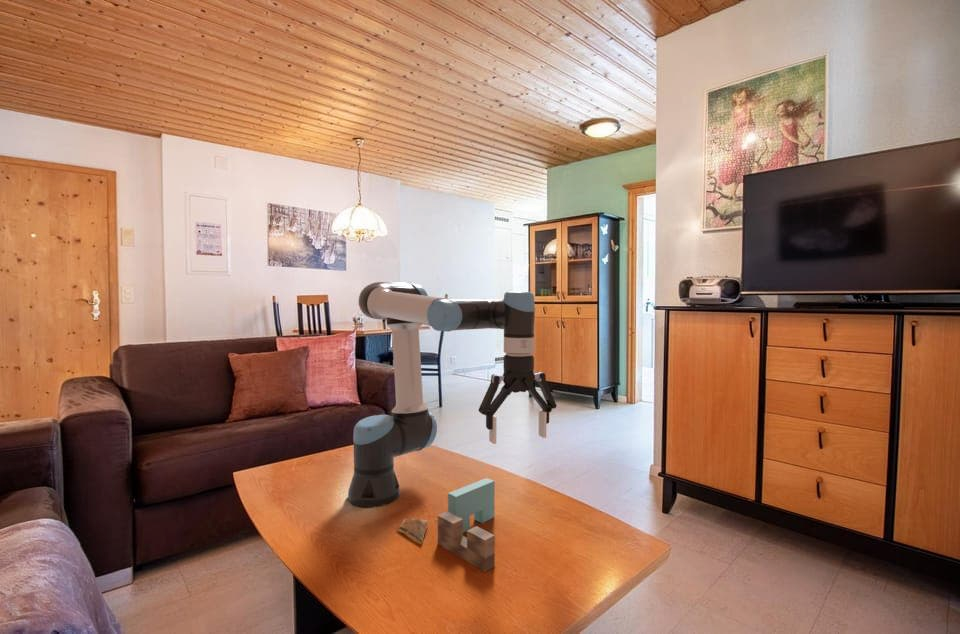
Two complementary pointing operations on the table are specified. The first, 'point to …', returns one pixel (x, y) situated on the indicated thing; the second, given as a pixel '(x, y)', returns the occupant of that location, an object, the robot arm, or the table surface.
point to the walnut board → (466, 541)
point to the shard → (414, 529)
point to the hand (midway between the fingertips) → (518, 439)
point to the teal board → (473, 502)
